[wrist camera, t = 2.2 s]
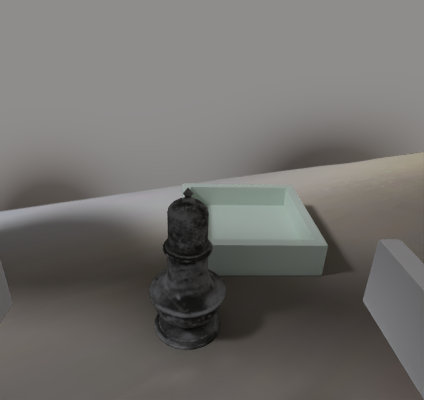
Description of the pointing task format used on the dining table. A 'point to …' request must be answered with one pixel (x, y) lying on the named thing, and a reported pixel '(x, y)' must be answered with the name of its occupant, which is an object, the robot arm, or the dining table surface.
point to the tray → (260, 231)
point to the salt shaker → (187, 279)
